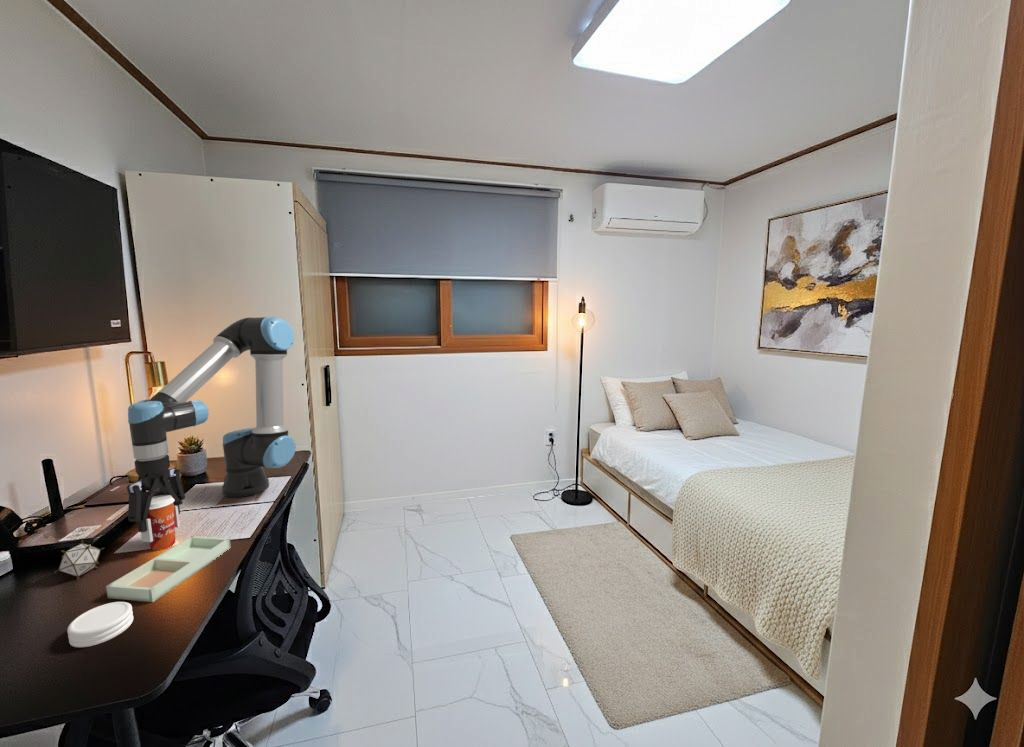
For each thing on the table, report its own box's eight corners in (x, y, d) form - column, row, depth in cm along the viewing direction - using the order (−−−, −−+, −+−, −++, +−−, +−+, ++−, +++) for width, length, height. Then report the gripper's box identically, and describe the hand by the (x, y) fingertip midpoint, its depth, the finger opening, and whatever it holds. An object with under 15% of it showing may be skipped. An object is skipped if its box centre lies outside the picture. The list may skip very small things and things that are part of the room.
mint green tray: (193, 546, 126) (191, 536, 126) (230, 548, 124) (229, 538, 124) (107, 598, 103) (106, 586, 103) (152, 602, 101) (151, 590, 101)
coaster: (83, 622, 95) (81, 608, 95) (141, 610, 99) (139, 595, 98) (58, 655, 86) (55, 639, 86) (123, 639, 90) (120, 624, 89)
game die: (75, 592, 112) (36, 575, 105) (86, 565, 118) (49, 548, 112) (110, 571, 113) (73, 553, 107) (118, 545, 119) (84, 527, 113)
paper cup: (161, 553, 122) (154, 506, 120) (138, 551, 124) (132, 504, 122) (187, 539, 130) (181, 494, 128) (165, 537, 131) (159, 492, 129)
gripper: (173, 445, 134) (181, 516, 137) (101, 469, 113) (113, 552, 116) (194, 446, 133) (203, 517, 136) (126, 470, 112) (138, 553, 115)
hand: (161, 533), depth 126 cm, fingers closed on paper cup, 8 cm apart
